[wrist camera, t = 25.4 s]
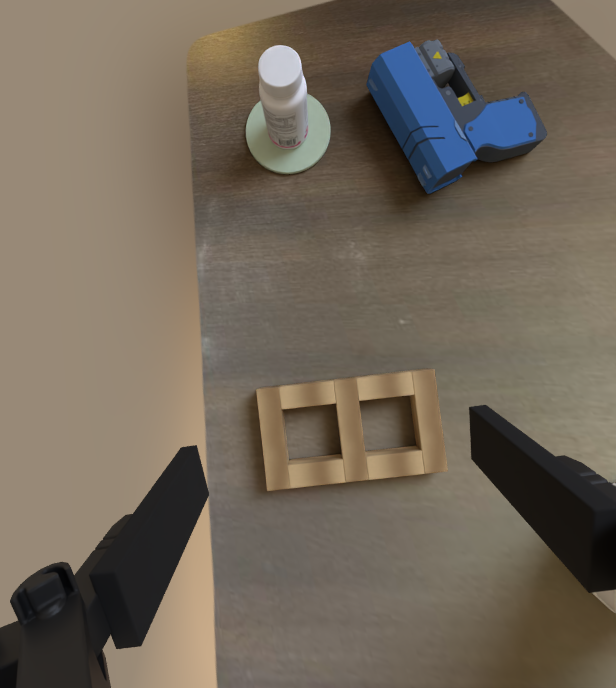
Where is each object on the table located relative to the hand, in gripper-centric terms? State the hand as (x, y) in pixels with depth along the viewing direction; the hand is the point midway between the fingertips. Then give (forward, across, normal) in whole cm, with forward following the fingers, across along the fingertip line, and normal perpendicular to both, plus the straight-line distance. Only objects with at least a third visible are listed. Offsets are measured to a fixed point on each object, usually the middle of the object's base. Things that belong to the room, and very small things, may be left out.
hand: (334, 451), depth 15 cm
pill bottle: (+28, 0, +25) cm, 38 cm away
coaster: (+28, 0, +25) cm, 38 cm away
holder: (+20, +2, -9) cm, 22 cm away
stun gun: (+28, +19, +23) cm, 41 cm away
